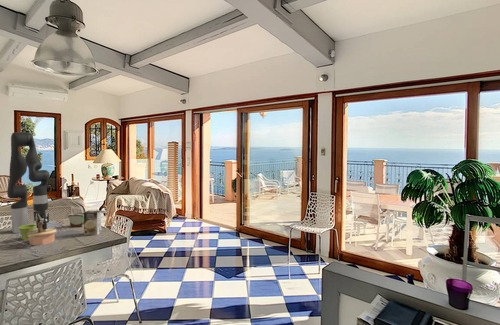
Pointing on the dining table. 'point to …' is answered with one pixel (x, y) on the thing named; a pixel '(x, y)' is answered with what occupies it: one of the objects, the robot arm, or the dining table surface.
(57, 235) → the charcoal mat
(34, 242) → the terracotta bowl
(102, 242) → the dining table surface
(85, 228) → the coffee box
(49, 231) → the oak lid
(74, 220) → the food container
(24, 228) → the plant pot
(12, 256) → the dining table surface
